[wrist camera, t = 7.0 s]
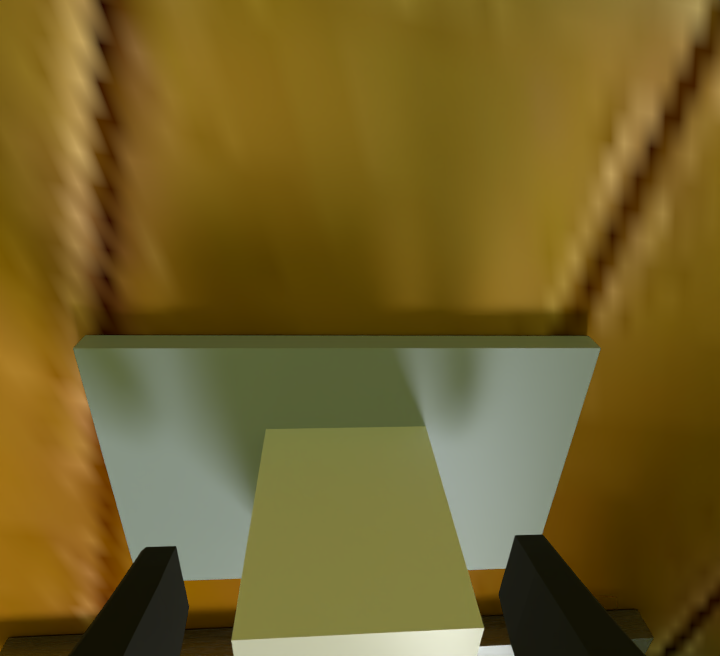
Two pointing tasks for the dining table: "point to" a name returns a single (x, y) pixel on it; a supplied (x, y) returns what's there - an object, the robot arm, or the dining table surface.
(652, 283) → the dining table surface
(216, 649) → the grey slotted frame
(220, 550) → the pad
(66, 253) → the dining table surface
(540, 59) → the dining table surface
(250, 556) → the peg
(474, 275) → the dining table surface
